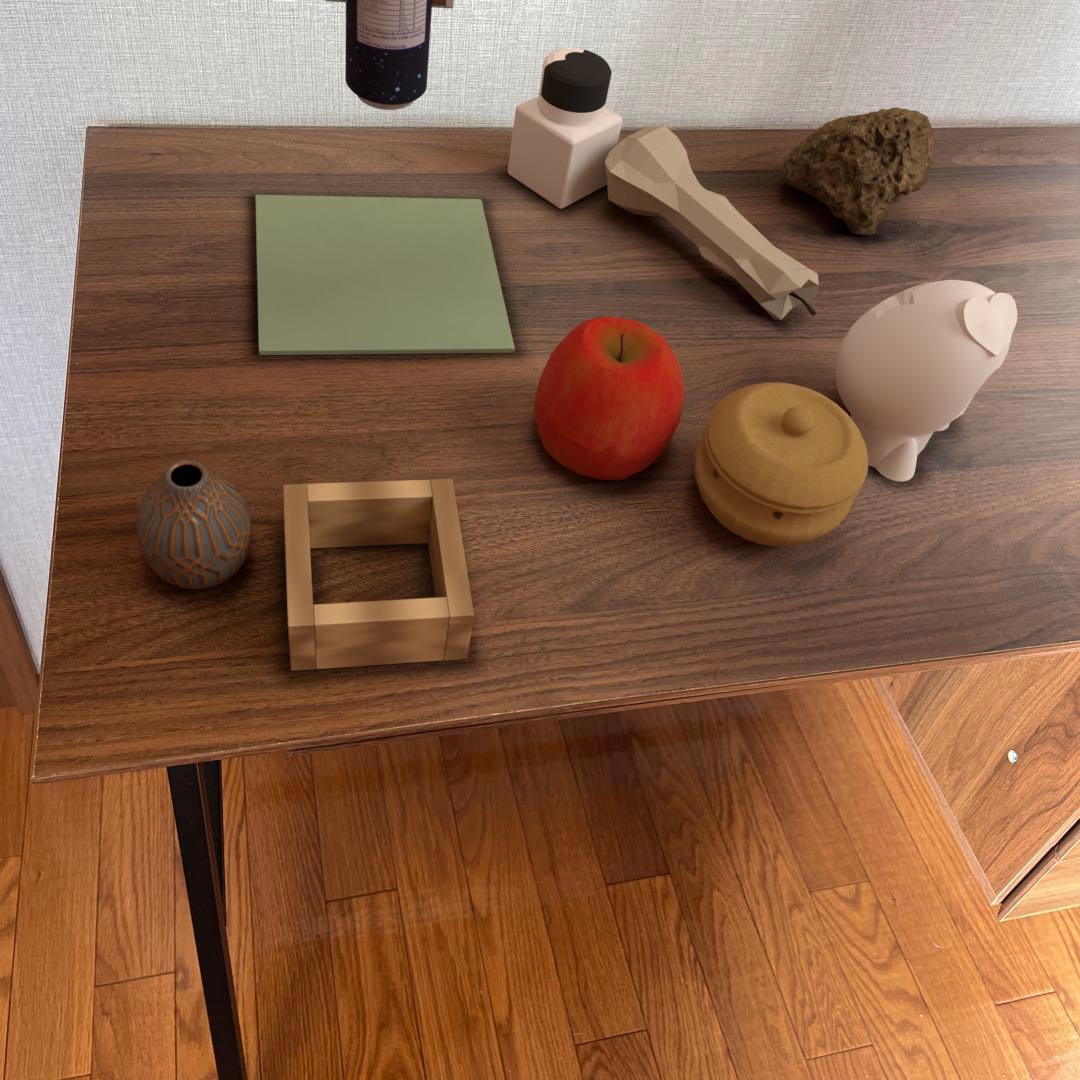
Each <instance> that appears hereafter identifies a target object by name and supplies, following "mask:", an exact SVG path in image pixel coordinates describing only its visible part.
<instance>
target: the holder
mask: <svg viewBox="0 0 1080 1080" xmlns="http://www.w3.org/2000/svg"><path fill="white" fill-rule="evenodd" d="M282 501H283V502H282V503H283V528H284V532H283V533H284V551H285V552H284V554H285V555H284V557H285V577H286V578H285V583H286V585H285V586H286V608H287V609H286V611H287V631H288V632H287V633H288V635H287V636H288V649H289V663H290V671H292V672H297V671H298V672H299V671H310V670H324V669H325V670H326V669H337V668H352V667H367V666H368V667H369V666H383V665H395V664H396V665H397V664H410V663H411V664H412V663H425V662H427V663H428V662H438V661H439V662H441V661H444V662H445V661H458V660H467V659H468V656H469V655H468V654H469V649H470V643H471V636H472V629H473V624H474V620H475V619H474V618H475V611H474V606H473V605H474V604H473V599H472V593H471V586H470V581H469V574H468V567H467V561H466V554H465V548H464V543H463V536H462V529H461V523H460V518H459V511H458V504H457V497H456V492H455V485H454V479H453V478H431V479H409V480H407V479H406V480H405V479H404V480H382V481H381V480H379V481H378V480H377V481H351V482H350V481H347V482H319V483H317V482H316V483H292V484H291V483H289V484H283V485H282ZM415 544H416V545H419V544H427V547H428V554H429V563H430V568H431V569H430V570H431V576H432V583H433V590H434V597H422V598H405V599H389V600H388V599H387V600H372V601H371V600H370V601H354V602H353V601H352V602H336V603H334V602H333V603H318V604H317V603H316V604H314V595H313V578H312V576H313V575H312V562H311V561H312V560H311V549H328V548H332V549H333V548H351V547H370V546H371V547H373V546H395V545H396V546H397V545H415Z"/></svg>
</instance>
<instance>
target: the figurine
mask: <svg viewBox="0 0 1080 1080" xmlns="http://www.w3.org/2000/svg"><path fill="white" fill-rule="evenodd" d="M1017 324H1018V308H1017V304H1016V301H1015V299H1014V297H1013V296H1012V295H1011V294H1009V293H1006V292H995V291H994V290H992V289H991V288H989V287H987V286H984V285H982V284H980V283H977V282H974V281H969V280H961V279H944V280H937V281H931V282H930V281H929V282H924V283H921V284H919V285H915V286H911V287H909V288H906V289H904V290H902V291H900V292H899V293H896V294H894V295H892V296H890V297H887V298H886V299H884V300H882V301H880V302H879V303H877V304H875V305H874V306H873V307H871V308H870V309H869V310H867V311H866V312H864V313H863V314H862V316H860V317H858V319H857V320H856V321H855V322H854V323H853V324H852V325H851V327H850V328H849V330H848V331H847V332H846V334H845V336H844V338H843V339H842V340H841V343H840V346H839V349H838V352H837V357H836V361H835V383H836V389H837V393H838V395H839V397H840V400H841V401H842V404H843V406H845V408H846V410H847V411H848V412H849V413H850V415H849V417H850V418H851V419H852V421H853V422H854V423H855V424H856V426H857V427H858V429H859V431H860V433H861V435H862V438H863V440H864V442H865V444H866V448H867V454H868V460H869V463H868V467H872V468H875V469H876V471H877V472H878V473H879V474H880V475H882V476H883V477H884V478H886V479H888V480H890V481H894V482H902V483H903V482H907V481H910V480H911V479H912V478H913V477H914V475H915V472H916V467H917V459H918V455H920V454H921V452H922V451H923V450H924V449H925V448H926V446H927V444H928V442H929V441H930V439H931V438H932V436H933V434H934V433H935V432H942V431H945V430H947V429H948V428H949V427H950V424H951V423H952V422H953V421H955V420H956V419H958V418H959V417H961V416H962V415H963V414H964V413H965V412H966V410H967V409H968V406H969V405H970V403H972V401H973V400H974V398H975V394H976V393H978V392H979V390H981V388H982V387H983V385H984V384H985V383H986V381H987V380H988V378H989V377H990V376H992V375H993V374H994V372H996V371H997V369H1000V368H1001V367H1002V365H1003V363H1004V361H1005V360H1006V357H1007V356H1008V353H1009V350H1010V345H1011V342H1012V337H1013V333H1014V330H1015V328H1016V325H1017Z"/></svg>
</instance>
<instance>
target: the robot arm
mask: <svg viewBox="0 0 1080 1080" xmlns="http://www.w3.org/2000/svg"><path fill="white" fill-rule="evenodd" d="M325 2H330V3H346V2H348V0H325ZM454 2H455V0H432V6H431V7H432V9H433V8H434V9H452V10H453V9H454Z"/></svg>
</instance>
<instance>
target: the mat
mask: <svg viewBox="0 0 1080 1080" xmlns="http://www.w3.org/2000/svg"><path fill="white" fill-rule="evenodd" d="M254 197H255V198H254V199H255V201H254V202H255V243H256V245H255V247H256V285H257V286H256V287H257V289H256V291H257V294H256V295H257V333H258V335H257V336H258V339H257V340H258V341H257V342H258V356H316V355H317V356H322V355H323V356H324V355H325V356H328V355H329V356H330V355H333V356H334V355H337V356H338V355H417V354H418V355H424V354H425V355H427V354H428V355H429V354H431V355H432V354H436V355H437V354H442V355H443V354H509V353H510V354H514V353H515V351H516V348H515V343H514V339H513V335H512V331H511V325H510V322H509V317H508V313H507V308H506V305H505V304H506V303H505V299H504V295H503V291H502V285H501V281H500V277H499V273H498V268H497V264H496V258H495V253H494V249H493V245H492V241H491V237H490V236H491V235H490V233H489V228H488V223H487V217H486V215H485V210H484V206H483V201H482V198H446V197H445V198H443V197H441V198H440V197H439V198H438V197H398V196H397V197H394V196H393V197H391V196H346V195H345V196H344V195H343V196H341V195H299V194H297V195H295V194H294V195H293V194H292V195H289V194H255V196H254Z"/></svg>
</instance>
